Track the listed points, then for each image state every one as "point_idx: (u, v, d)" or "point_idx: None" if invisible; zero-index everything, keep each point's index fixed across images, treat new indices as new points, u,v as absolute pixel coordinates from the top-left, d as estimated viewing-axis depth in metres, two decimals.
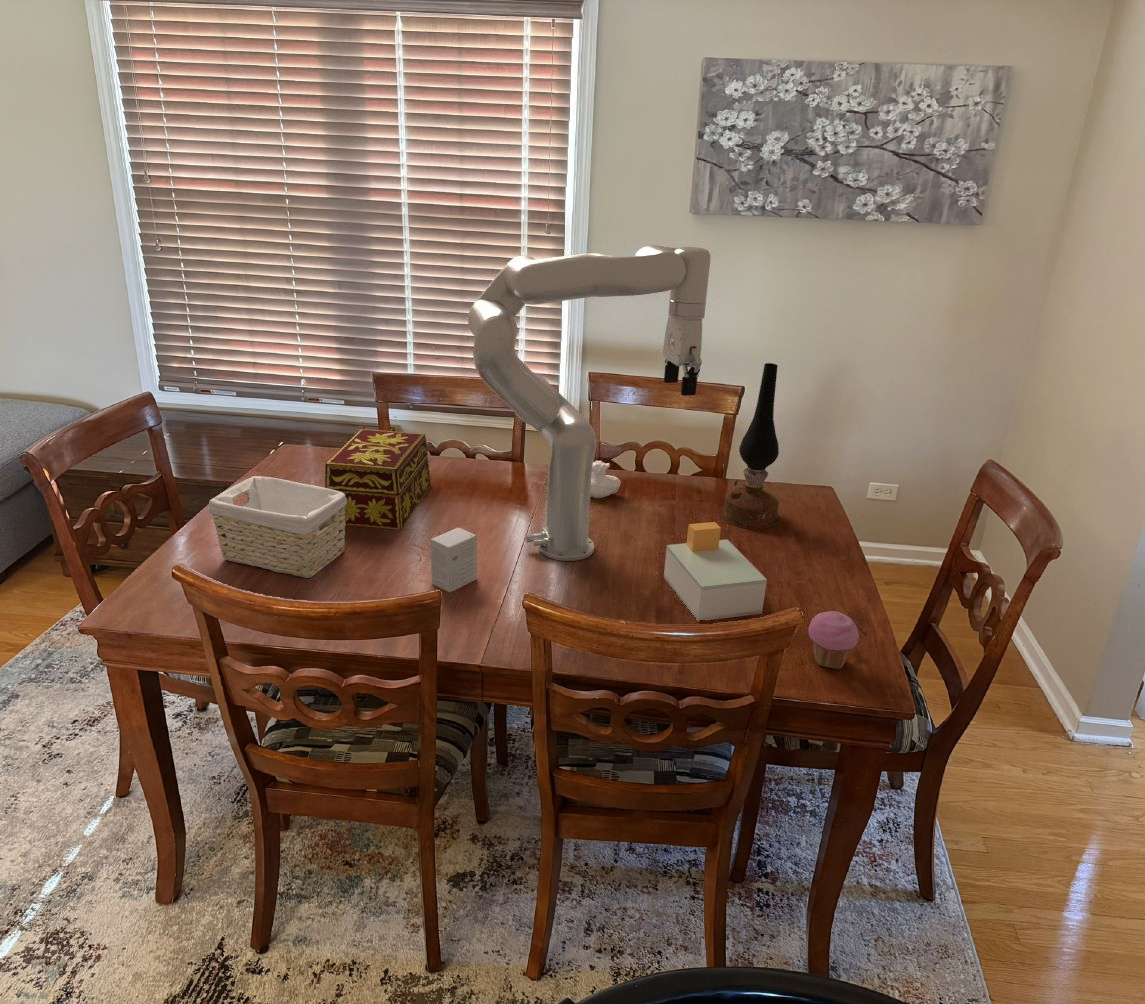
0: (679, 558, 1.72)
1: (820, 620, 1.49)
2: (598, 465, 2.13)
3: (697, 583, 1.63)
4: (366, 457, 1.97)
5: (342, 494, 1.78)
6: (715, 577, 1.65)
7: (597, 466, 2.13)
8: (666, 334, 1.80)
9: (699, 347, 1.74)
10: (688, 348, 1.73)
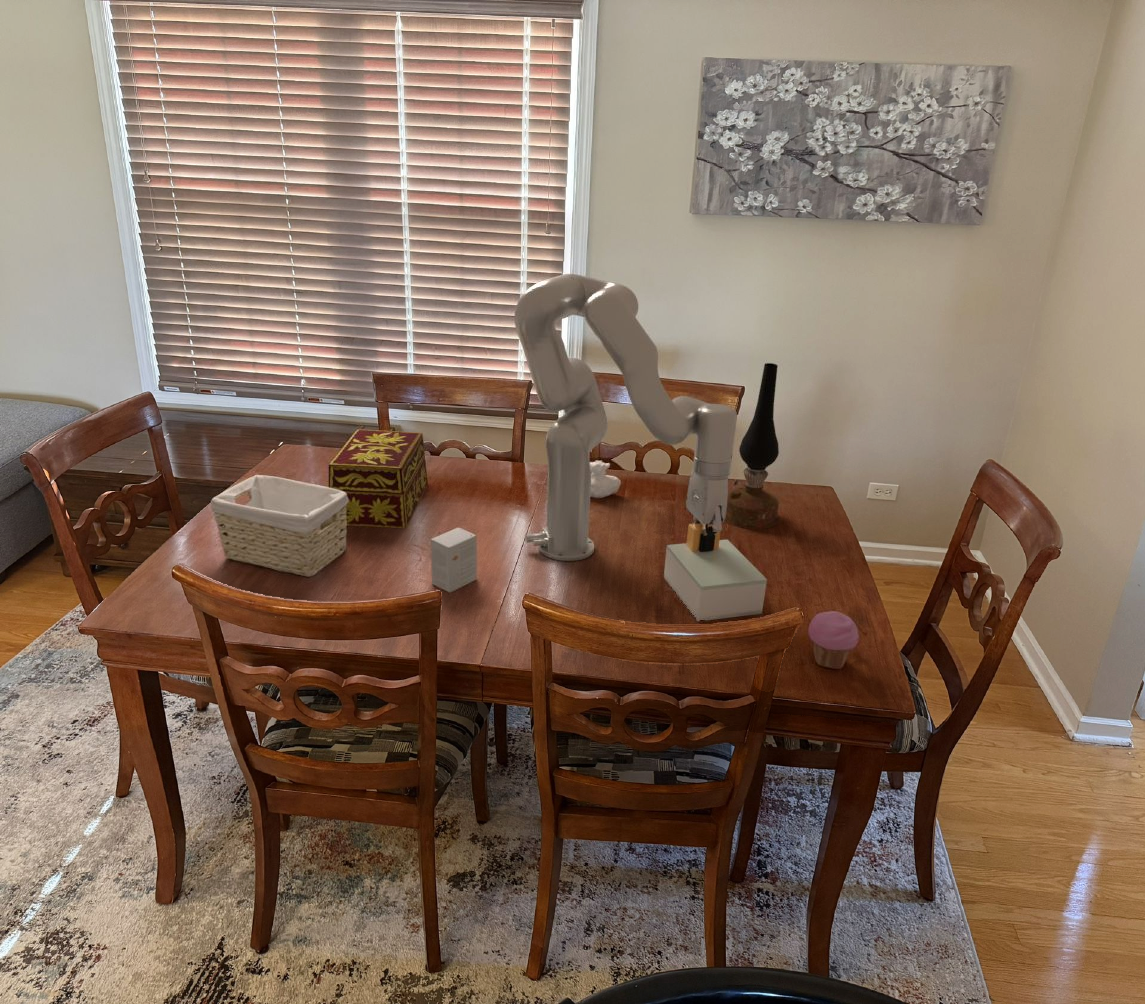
0: (679, 558, 1.72)
1: (819, 620, 1.49)
2: (598, 465, 2.13)
3: (697, 583, 1.63)
4: (368, 457, 1.97)
5: (343, 493, 1.78)
6: (715, 577, 1.65)
7: (597, 466, 2.13)
8: (690, 487, 1.74)
9: (725, 506, 1.68)
10: (713, 508, 1.67)
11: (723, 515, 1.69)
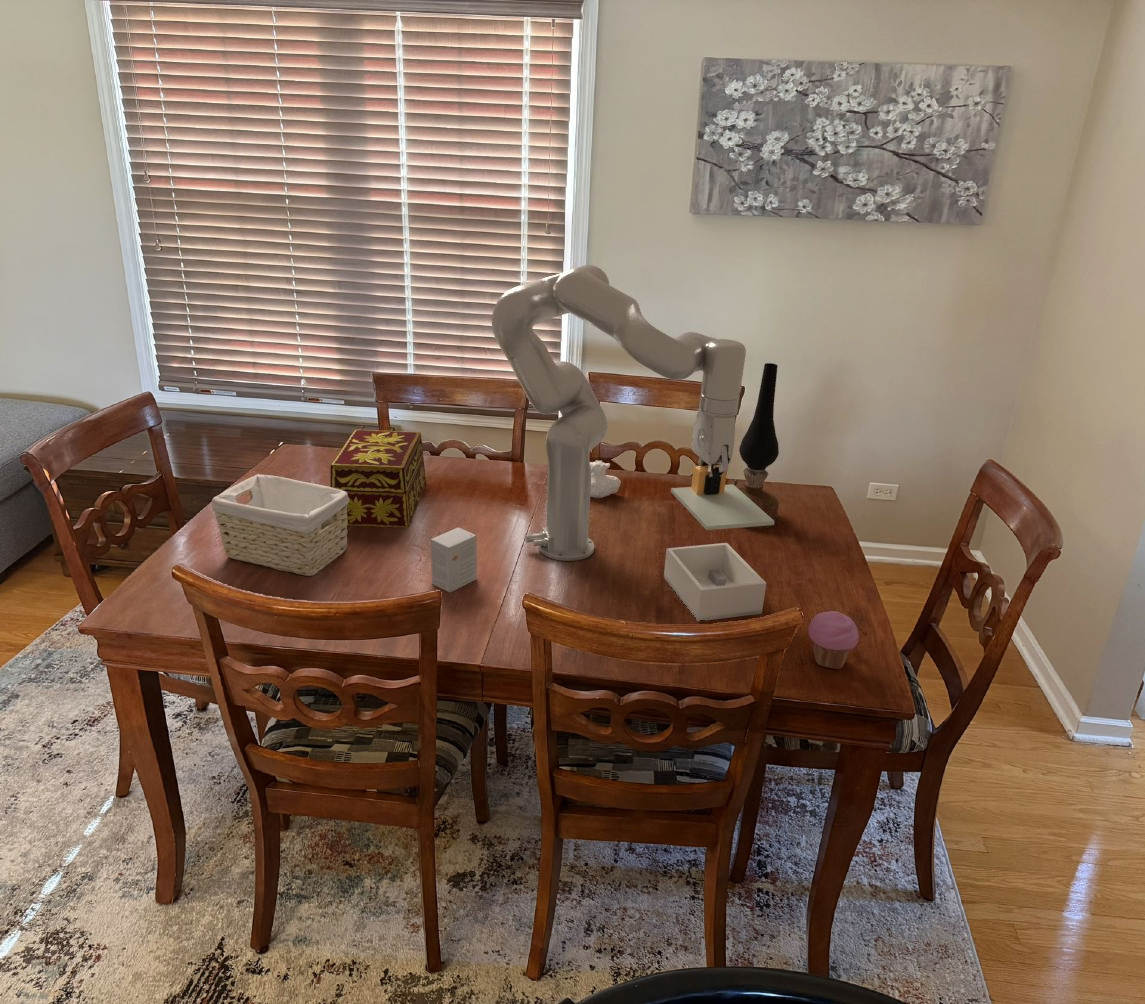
0: (684, 500, 1.67)
1: (819, 620, 1.49)
2: (598, 465, 2.13)
3: (702, 523, 1.58)
4: (369, 457, 1.97)
5: (344, 493, 1.79)
6: (720, 517, 1.60)
7: (597, 466, 2.13)
8: (695, 427, 1.69)
9: (731, 445, 1.63)
10: (720, 447, 1.62)
11: (730, 455, 1.64)
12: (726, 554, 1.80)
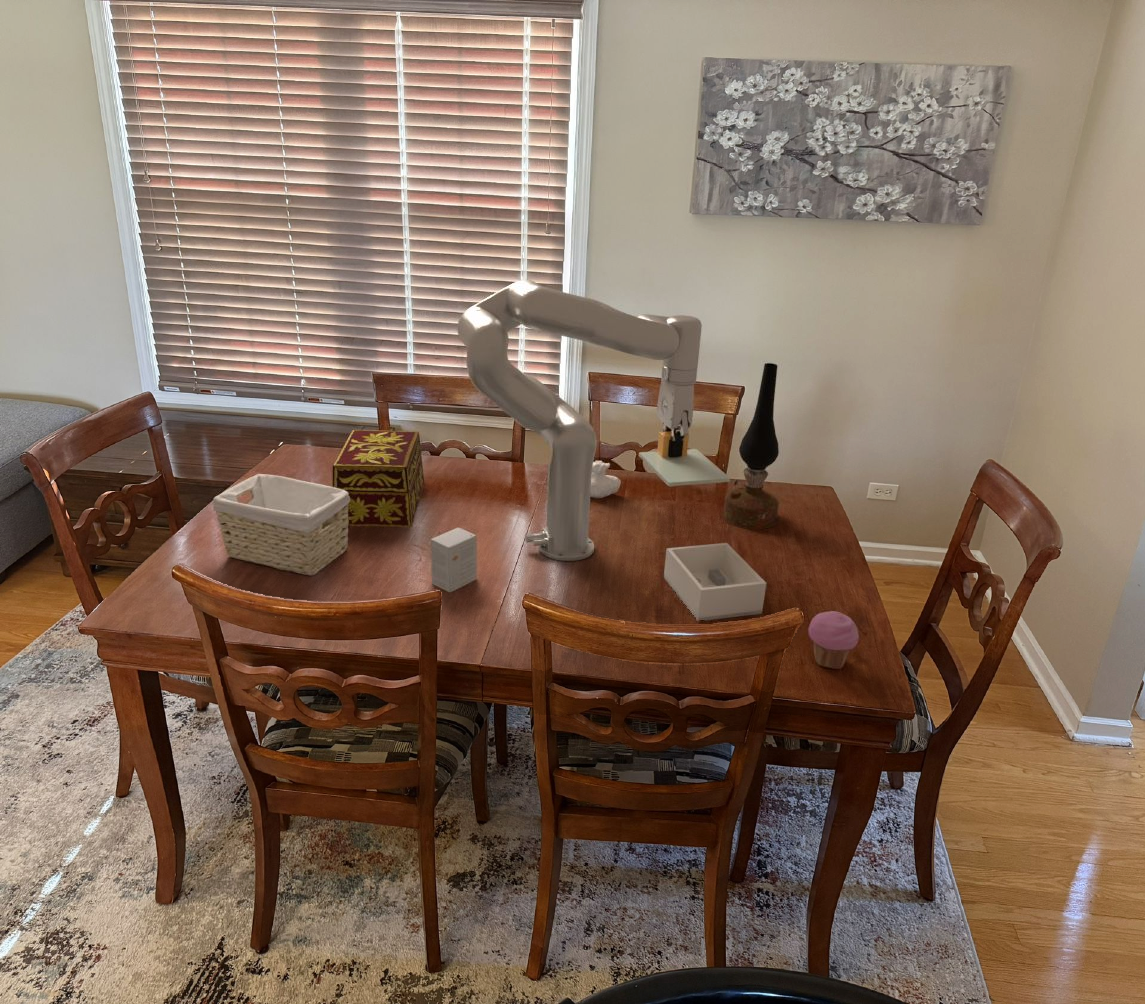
0: (649, 462, 1.84)
1: (819, 620, 1.49)
2: (598, 465, 2.13)
3: (665, 480, 1.76)
4: (371, 457, 1.97)
5: (345, 492, 1.79)
6: (681, 475, 1.78)
7: (597, 466, 2.13)
8: (659, 396, 1.86)
9: (691, 411, 1.81)
10: (680, 412, 1.80)
11: (690, 420, 1.81)
12: (726, 554, 1.80)
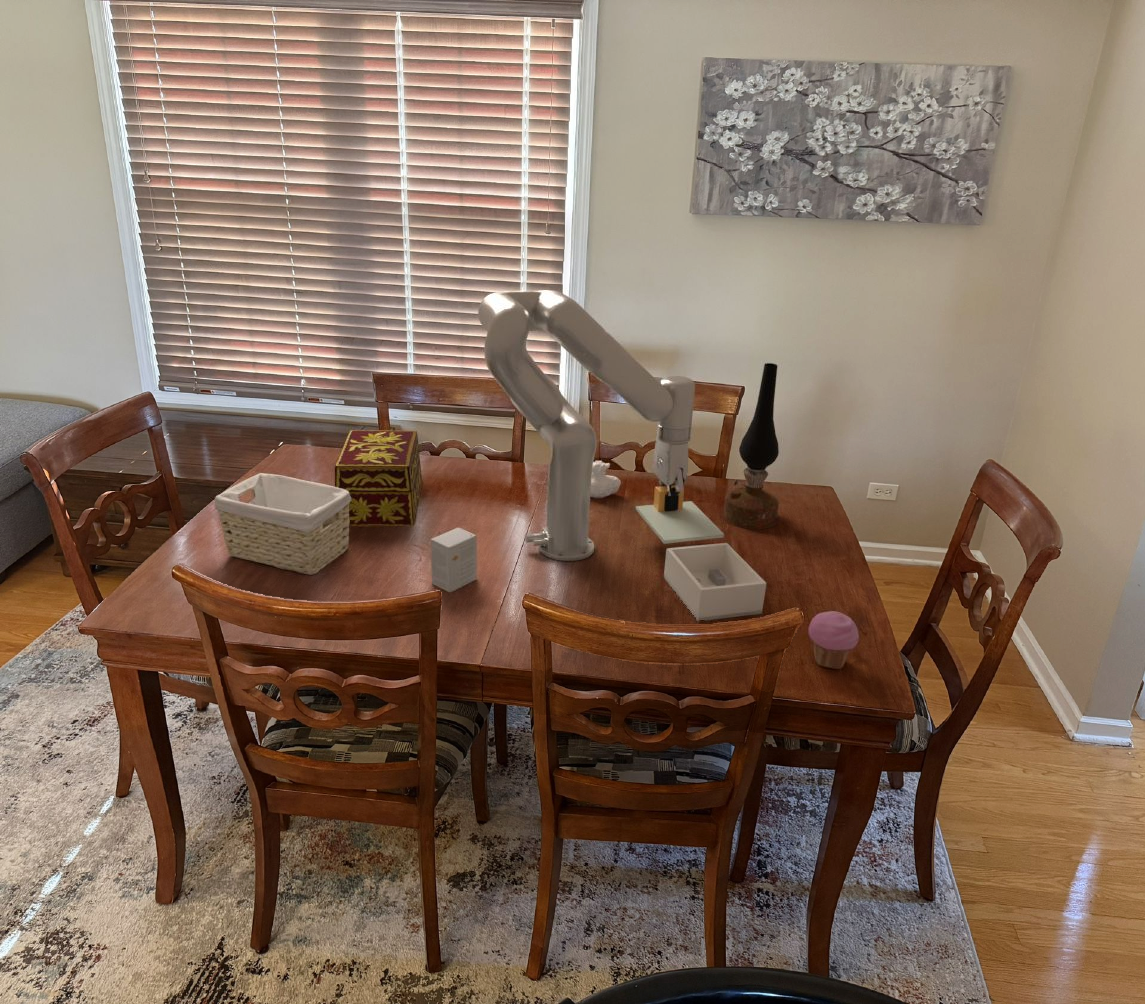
0: (646, 517, 1.90)
1: (820, 620, 1.49)
2: (598, 465, 2.13)
3: (661, 537, 1.81)
4: (372, 457, 1.97)
5: (346, 492, 1.79)
6: (677, 532, 1.83)
7: (597, 466, 2.13)
8: (655, 452, 1.92)
9: (686, 468, 1.86)
10: (675, 470, 1.85)
11: (684, 477, 1.87)
12: (726, 554, 1.80)
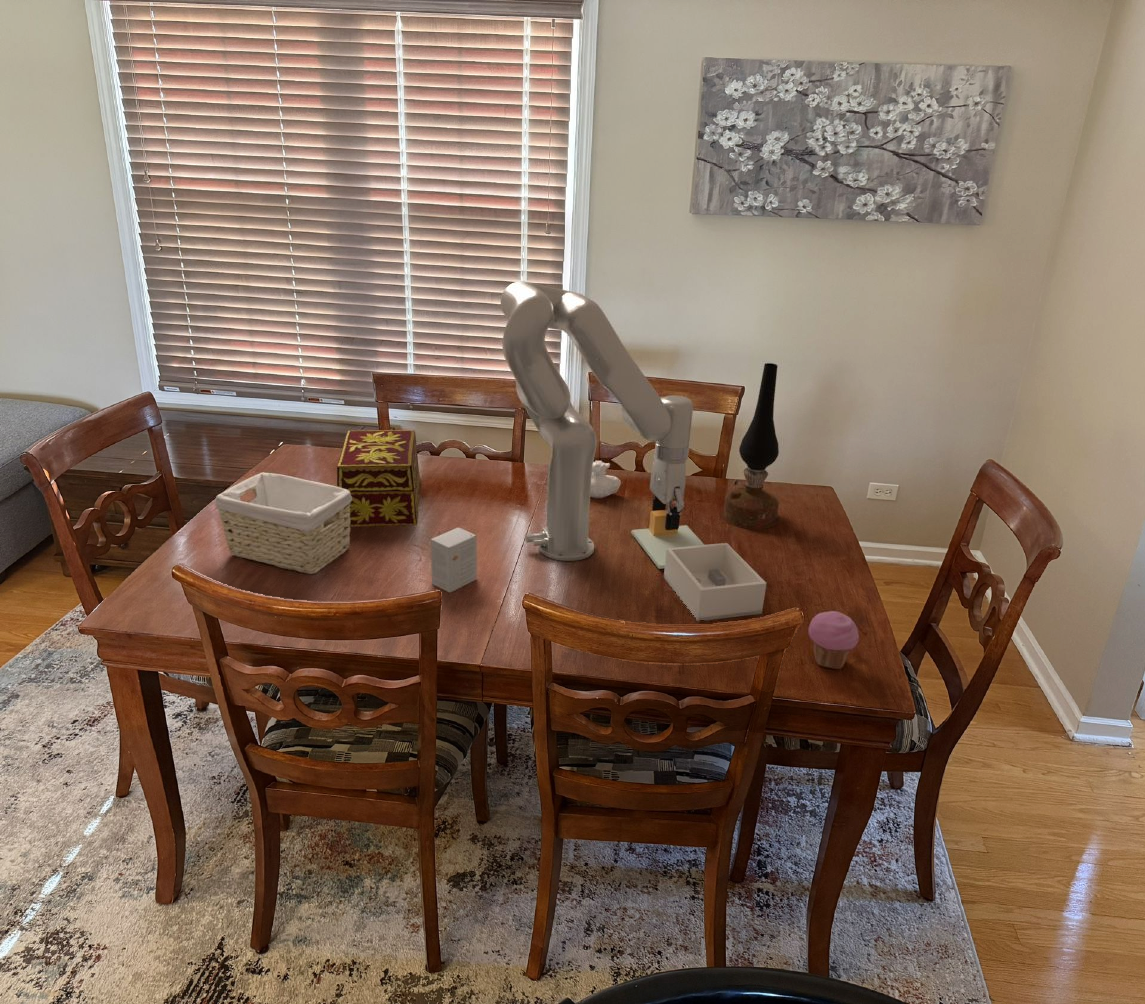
0: (641, 541, 1.92)
1: (819, 620, 1.49)
2: (598, 465, 2.13)
3: (656, 562, 1.84)
4: (374, 457, 1.97)
5: (347, 491, 1.79)
6: None
7: (597, 466, 2.13)
8: (653, 470, 1.94)
9: (683, 487, 1.88)
10: (673, 488, 1.87)
11: (681, 495, 1.88)
12: (726, 554, 1.80)
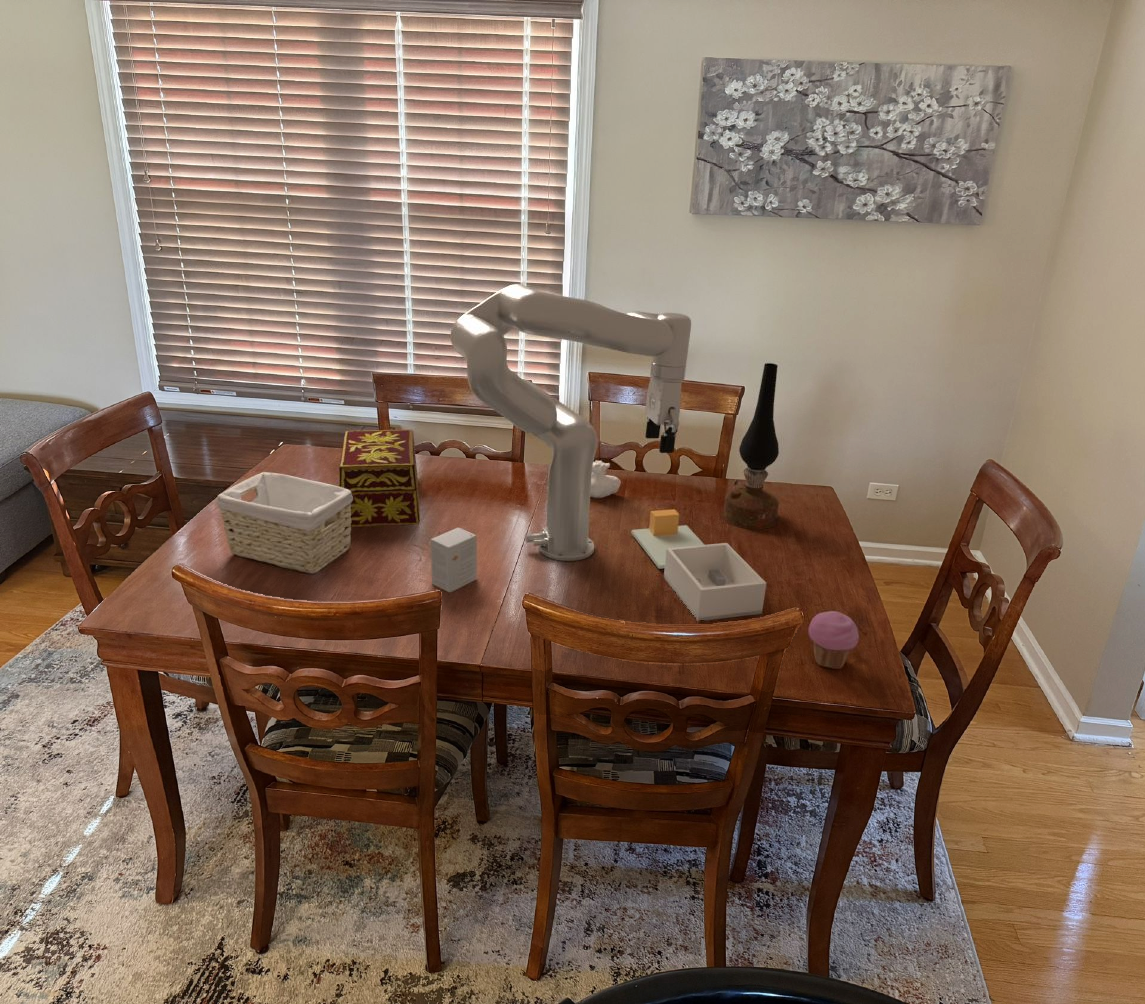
0: (641, 541, 1.92)
1: (819, 620, 1.49)
2: (598, 465, 2.13)
3: (656, 562, 1.84)
4: (375, 456, 1.97)
5: (348, 491, 1.80)
6: None
7: (597, 466, 2.13)
8: (648, 393, 1.88)
9: (678, 408, 1.82)
10: (667, 409, 1.81)
11: (676, 417, 1.83)
12: (726, 554, 1.80)
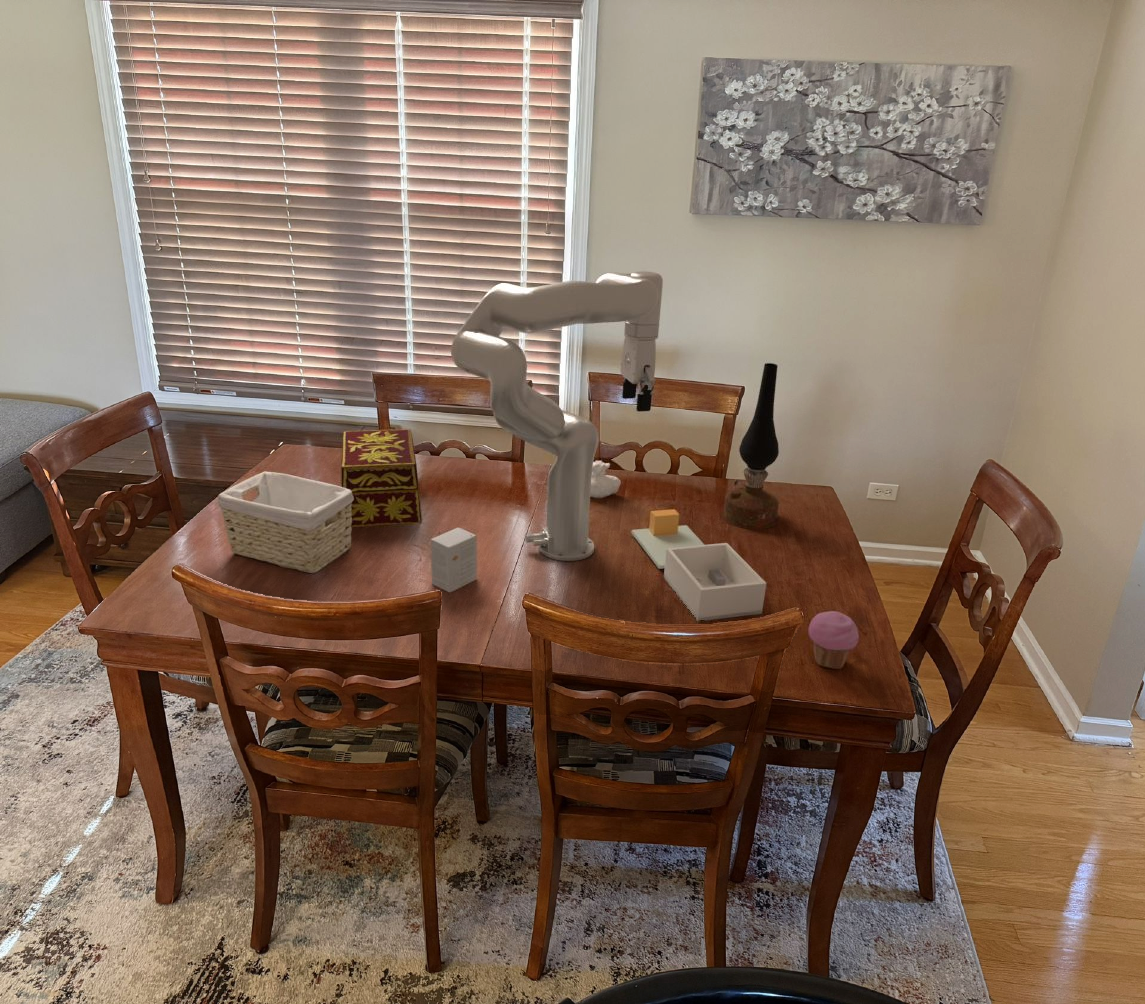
0: (641, 541, 1.92)
1: (819, 620, 1.49)
2: (598, 465, 2.13)
3: (656, 562, 1.84)
4: (376, 456, 1.97)
5: (348, 491, 1.80)
6: None
7: (597, 466, 2.13)
8: (623, 353, 1.90)
9: (653, 366, 1.84)
10: (642, 367, 1.83)
11: None
12: (726, 554, 1.80)
